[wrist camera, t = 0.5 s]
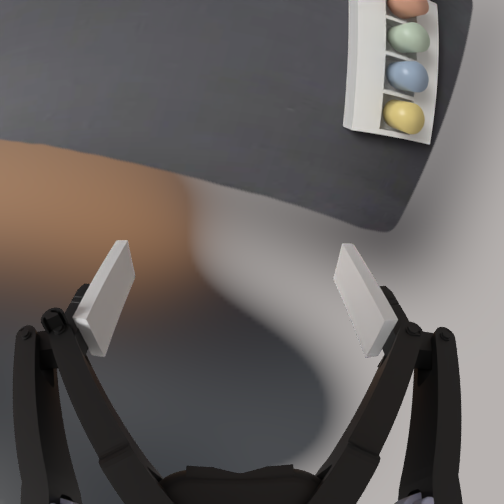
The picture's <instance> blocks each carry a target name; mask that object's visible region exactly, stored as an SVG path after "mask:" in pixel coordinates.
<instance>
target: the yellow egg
mask: <svg viewBox="0 0 504 504" xmlns="http://www.w3.org/2000/svg"><path fill="white" fill-rule="evenodd" d="M383 117H384V120H385V122H386V123H387V124H388V125H389V126H390V127H392V128H395V129H398V130H400V131H403V132H405V133H408V134H417V133H418V132H420V131H421V130H422V128H423V126H424V122H425V117H424V113H423V111H422V109H421V108H420V107H419V106H418V105H417V104H415V103H411V102H406V101H401V100H390V101H388V102H387V103H386V104H385V106H384V108H383Z"/></svg>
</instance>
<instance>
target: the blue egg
mask: <svg viewBox="0 0 504 504" xmlns="http://www.w3.org/2000/svg"><path fill="white" fill-rule="evenodd" d="M386 77H387V80H388V82H389V83H390V85H391V86H392V87H394V88H395V89H397V90H404V91H411V92H422V91H424V90H425V89H426V88H427V86H428V82H429V77H428V73H427V71H426V69H425V68H424V66H423V65H421V64H420V63H419V62H416V61H401V62H392V63H391V64H389V66H388V67H387V70H386Z"/></svg>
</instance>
